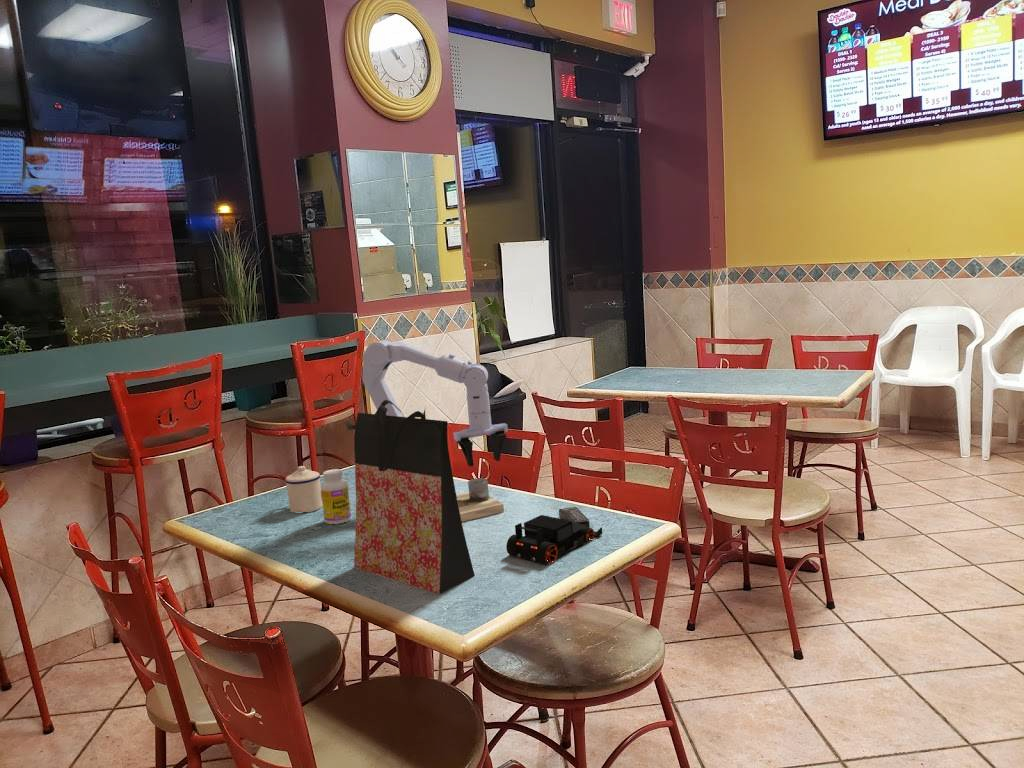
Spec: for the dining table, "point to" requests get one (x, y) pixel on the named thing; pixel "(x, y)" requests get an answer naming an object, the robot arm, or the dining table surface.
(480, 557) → the dining table surface
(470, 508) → the keyhole plate
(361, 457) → the gift bag
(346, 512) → the supplement bottle
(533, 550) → the toy truck
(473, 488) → the keyhole peg
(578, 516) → the multiport hub
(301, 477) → the teacup with lid
